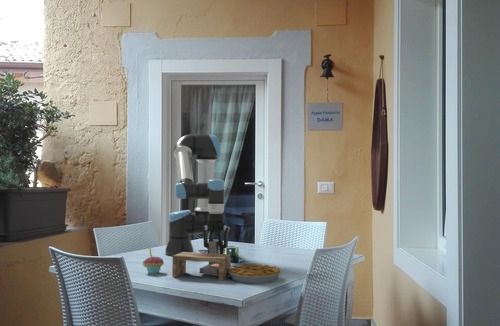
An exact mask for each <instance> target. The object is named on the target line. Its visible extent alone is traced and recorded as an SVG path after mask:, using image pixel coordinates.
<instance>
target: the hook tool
mask: <svg viewBox="0 0 500 326" xmlns="http://www.w3.org/2000/svg"><path fill="white" fill-rule="evenodd" d="M208 241H209V240H208ZM219 249H220V247H219V241H218V239H213V240H212V241H209V253H211V254H218V250H219ZM213 264H218V262H210V261H208V264H206V265H204V266H202V267H200V268H199V274H209V275H210V274H218V269H210V266H211V265H213Z"/></svg>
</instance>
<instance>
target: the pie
mask: <svg viewBox="0 0 500 326" xmlns="http://www.w3.org/2000/svg"><path fill="white" fill-rule="evenodd" d="M229 273H230V277H231V279H232V280H233V281H235V282H239V283H244V284H245V283H246V284H265V283H266V284H267V283H272V282H275V281H277V280H278V278H279V276H280V274H281V273H282V270H281V268H279V267H277V266H275V265H274V266H270V265H268V264H265V265H262V264H250V263H249V264H248V265H244V264H243V265H242V264H241V265H239V266H236V265H234V266H233V267H231V268H230V271H229Z"/></svg>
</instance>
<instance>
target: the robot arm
mask: <svg viewBox="0 0 500 326" xmlns="http://www.w3.org/2000/svg"><path fill="white" fill-rule="evenodd" d="M220 152H221V149H220V141H219V138H218V136H216V135H214V134H192V133H191V134H186V135H184V136H182V137H180V138H179V139H178V140H177V141H176V143H175V144H174V147H173V156H174V158H175V161H176V173H177V182H176V183H175V184H174V197H175V198H176V199H181V200H194V199H195V200H197V206H196V207H195V208H194V212H192V211H191V210H190V209H185V210H183V209H182V210H178V211H177V210H176V211H173V212H172V211H171V212H170V214H169V216H168V217H169V218H168V241H167V244H166V248H165V251H164V252H165V255H166V256H169V257H173V255H176V254H179V253H182V252H192V253H195V252H194V247H193V243H192V240H191V235H202V236H203V248H206V249H207V253H209V241H212V240H214V237H215V234H216V235H217V240H218V241H219V247H220V249H219V250H218V254H224V250H225V249H226V248H228V247H229V245H228V243H229V233H230V229H231V227H230V226H227V225H225V213H224V212H225V189H226V188H225V187H226V186H225V181H224V180H223V179H215V178H214V177H215V175H214V174H215V173H214V172H215V162H217V159H218V157H220V155H221V153H220ZM192 157H195V161H196V162H197V182H195V180H194V174H193V166H192V159H191V158H192ZM223 230H224V233H223ZM208 236H209V237H208ZM218 264H219V262H218Z"/></svg>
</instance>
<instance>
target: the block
mask: <svg viewBox="0 0 500 326" xmlns="http://www.w3.org/2000/svg"><path fill="white" fill-rule="evenodd" d="M210 269H218V274H209V276H217V277H219V264H213V265H211V266H210Z"/></svg>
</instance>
